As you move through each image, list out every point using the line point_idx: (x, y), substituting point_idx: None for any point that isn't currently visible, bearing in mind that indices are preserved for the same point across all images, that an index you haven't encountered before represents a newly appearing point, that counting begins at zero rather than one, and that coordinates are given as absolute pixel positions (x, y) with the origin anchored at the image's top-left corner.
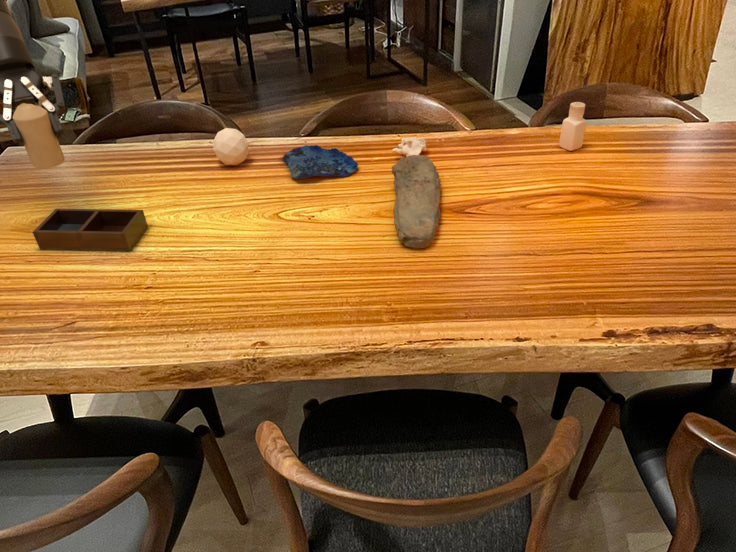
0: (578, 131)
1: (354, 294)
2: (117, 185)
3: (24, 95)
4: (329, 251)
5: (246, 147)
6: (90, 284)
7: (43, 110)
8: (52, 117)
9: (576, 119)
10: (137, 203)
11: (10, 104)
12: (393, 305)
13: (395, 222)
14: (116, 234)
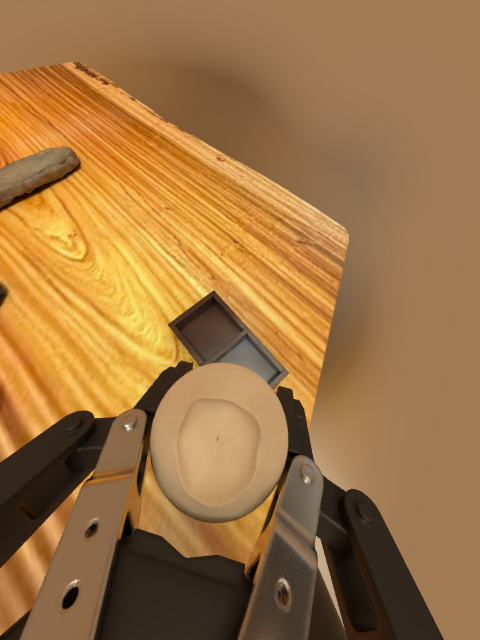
0: None
1: (148, 156)
2: None
3: (163, 585)
4: (113, 194)
5: None
6: (268, 276)
7: (170, 398)
8: (160, 396)
9: None
10: None
11: (278, 525)
12: (144, 140)
13: (54, 169)
14: (219, 296)
